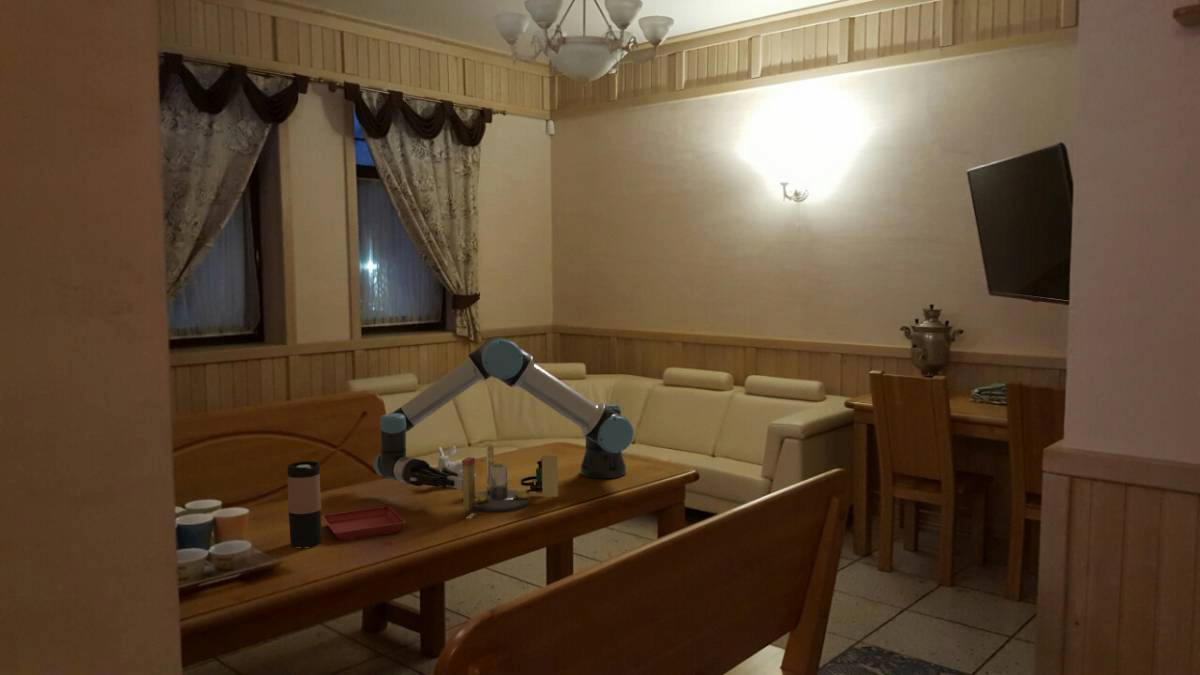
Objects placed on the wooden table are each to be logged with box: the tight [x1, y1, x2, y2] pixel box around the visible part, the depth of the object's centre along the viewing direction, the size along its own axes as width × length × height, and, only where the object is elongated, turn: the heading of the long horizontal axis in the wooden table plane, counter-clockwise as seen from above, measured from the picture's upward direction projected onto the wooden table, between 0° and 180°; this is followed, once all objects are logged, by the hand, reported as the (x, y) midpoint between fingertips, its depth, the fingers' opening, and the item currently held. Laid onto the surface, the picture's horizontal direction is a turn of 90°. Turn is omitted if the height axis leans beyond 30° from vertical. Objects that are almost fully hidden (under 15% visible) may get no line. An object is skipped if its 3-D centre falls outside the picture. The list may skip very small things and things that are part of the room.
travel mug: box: [286, 460, 322, 549], centre depth 216 cm, size 8×8×20 cm
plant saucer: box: [321, 505, 406, 541], centre depth 229 cm, size 18×18×3 cm
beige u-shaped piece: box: [461, 456, 488, 511], centre depth 243 cm, size 12×4×14 cm, turn 165°
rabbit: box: [437, 445, 477, 488], centre depth 277 cm, size 12×9×12 cm
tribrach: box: [466, 443, 559, 520], centre depth 250 cm, size 27×32×14 cm
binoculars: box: [520, 457, 542, 492], centre depth 265 cm, size 9×11×10 cm
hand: (464, 484), depth 240 cm, fingers closed
